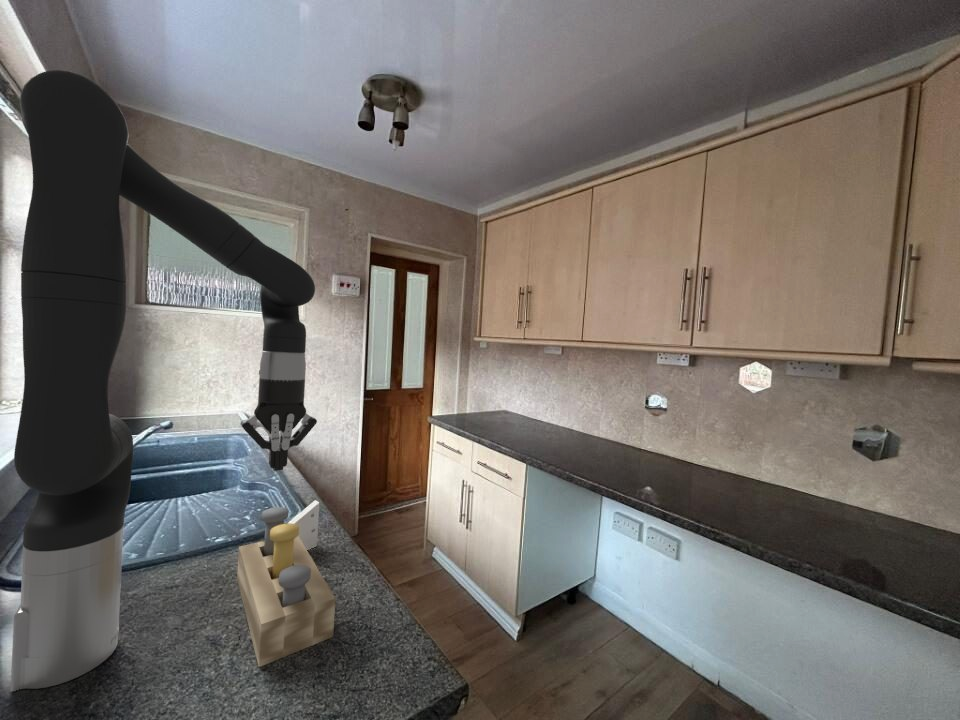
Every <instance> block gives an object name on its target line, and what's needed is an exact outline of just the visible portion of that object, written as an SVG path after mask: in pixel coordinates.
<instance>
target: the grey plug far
mask: <svg viewBox="0 0 960 720" xmlns="http://www.w3.org/2000/svg"><path fill="white" fill-rule="evenodd" d="M288 517H289V508H287V507H284V506H275V507H271V508H267V509H264V510H263V511H262V512H261V521H262V522H263V523H265V525H264V529H265V530H264V540H263V541H264V557H265V556H269V555H273V554H274V541H272V540H271V539H270V530H271V529H272V528H273V527H275V526H278V525H281V524H285V520H286V519H288Z"/></svg>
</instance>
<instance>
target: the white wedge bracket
mask: <svg viewBox="0 0 960 720" xmlns="http://www.w3.org/2000/svg"><path fill="white" fill-rule="evenodd" d="M319 514H320V502H319V501H318V500H316V499H315V500H313V502H311V503H310V504H309V505H307V506H306V507H305V508H304V509H303V510H302V511H300V512H299V513H297V515H296V516H294V517H293V518H292V519H291V520H290V521H288V522H287V524H296V525H298V526H299V535H298V536H299V538H300V540H301V541H302V543H303V545H304V546H305V548H306V550H308V549H311V548H314V547H316V546H318V535H319V534H318V530H319V516H320V515H319ZM314 549H315V548H314ZM311 550H312V549H311Z"/></svg>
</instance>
